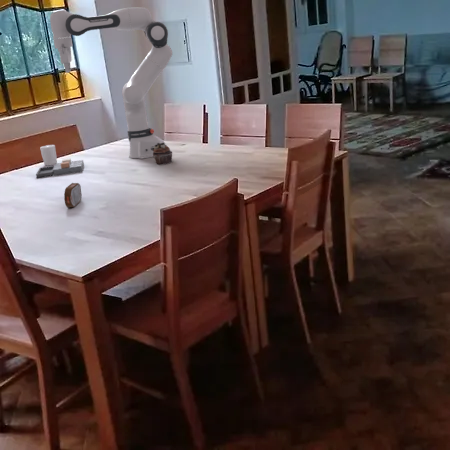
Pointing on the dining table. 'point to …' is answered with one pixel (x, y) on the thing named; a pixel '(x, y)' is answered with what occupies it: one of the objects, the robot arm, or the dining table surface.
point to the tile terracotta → (65, 164)
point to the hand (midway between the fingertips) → (68, 71)
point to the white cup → (49, 154)
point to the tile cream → (67, 160)
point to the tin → (72, 195)
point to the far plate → (69, 168)
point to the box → (45, 172)
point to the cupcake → (162, 154)
